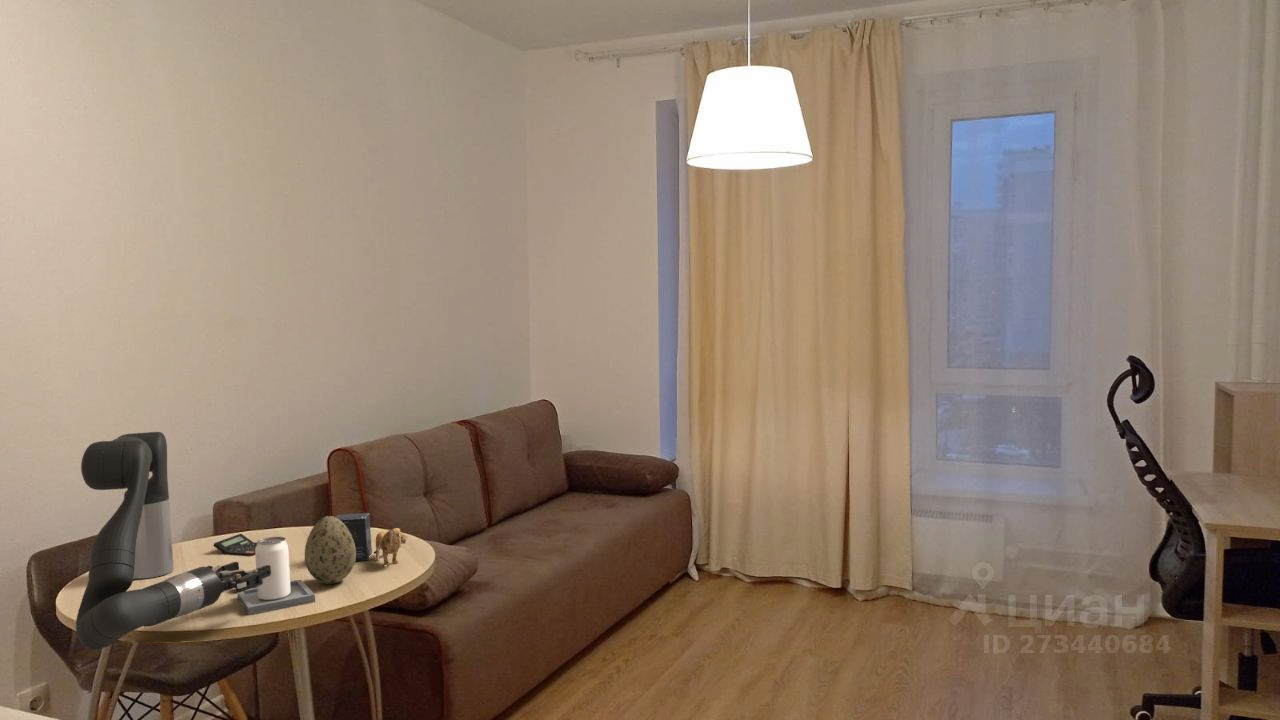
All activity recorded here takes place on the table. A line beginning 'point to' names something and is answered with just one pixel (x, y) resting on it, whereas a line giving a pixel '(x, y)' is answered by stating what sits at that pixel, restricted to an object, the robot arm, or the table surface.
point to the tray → (296, 597)
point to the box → (359, 533)
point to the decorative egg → (330, 551)
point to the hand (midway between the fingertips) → (253, 568)
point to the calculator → (237, 546)
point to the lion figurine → (389, 544)
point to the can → (273, 568)
